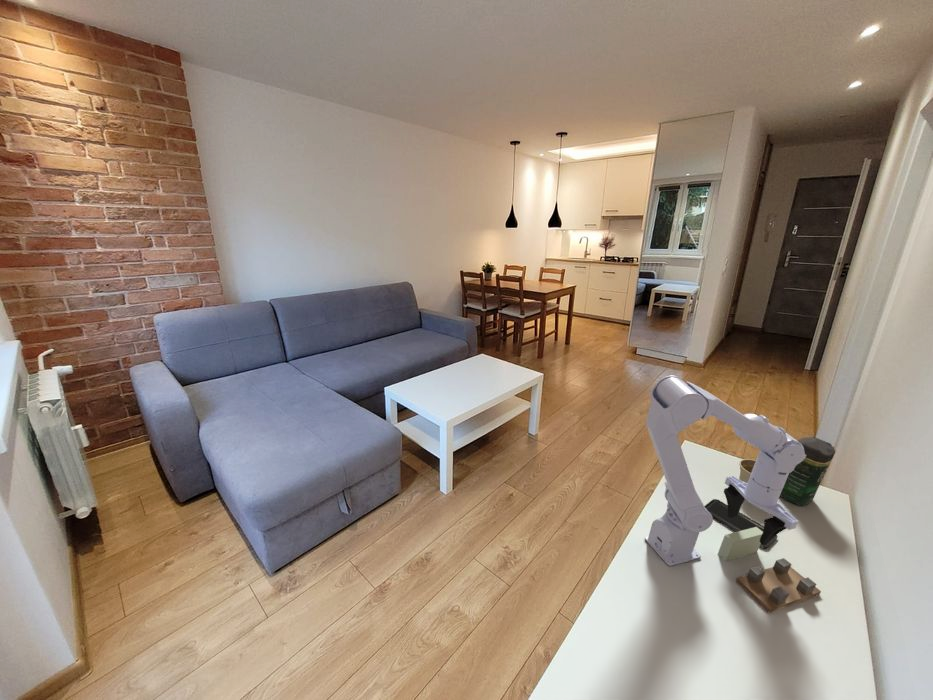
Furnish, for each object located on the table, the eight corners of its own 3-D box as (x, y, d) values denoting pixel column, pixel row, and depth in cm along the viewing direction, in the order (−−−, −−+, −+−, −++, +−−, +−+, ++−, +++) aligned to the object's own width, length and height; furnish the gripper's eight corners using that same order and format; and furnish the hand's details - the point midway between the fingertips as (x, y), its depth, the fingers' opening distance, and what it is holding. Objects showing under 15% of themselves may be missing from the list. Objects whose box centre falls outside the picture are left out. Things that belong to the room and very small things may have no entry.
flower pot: (723, 485, 109) (731, 461, 107) (745, 480, 112) (754, 456, 109) (754, 507, 101) (764, 482, 98) (778, 501, 104) (788, 476, 101)
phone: (714, 497, 103) (779, 535, 91) (713, 501, 103) (777, 538, 92) (701, 508, 99) (766, 548, 87) (700, 511, 99) (764, 552, 88)
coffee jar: (803, 510, 101) (828, 454, 95) (770, 492, 107) (791, 439, 101) (817, 499, 106) (842, 445, 99) (784, 482, 112) (806, 430, 106)
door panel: (725, 561, 84) (732, 541, 82) (717, 554, 86) (724, 534, 84) (756, 552, 87) (764, 533, 85) (748, 545, 89) (756, 526, 87)
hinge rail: (768, 612, 73) (774, 600, 72) (735, 581, 79) (740, 569, 78) (819, 594, 77) (825, 582, 76) (784, 566, 84) (789, 554, 82)
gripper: (817, 501, 74) (793, 551, 79) (747, 458, 87) (731, 503, 92) (792, 507, 72) (770, 558, 77) (725, 462, 85) (709, 508, 90)
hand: (747, 528), depth 84 cm, fingers open, 7 cm apart
